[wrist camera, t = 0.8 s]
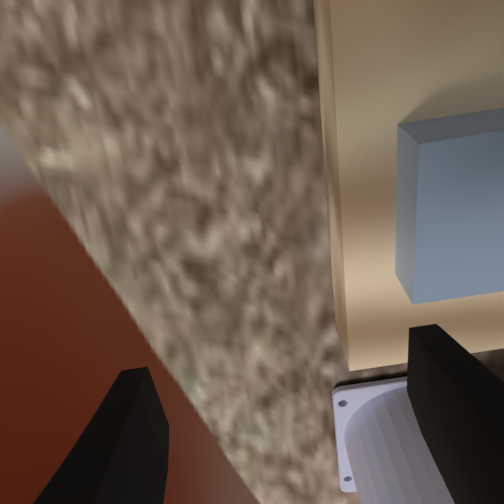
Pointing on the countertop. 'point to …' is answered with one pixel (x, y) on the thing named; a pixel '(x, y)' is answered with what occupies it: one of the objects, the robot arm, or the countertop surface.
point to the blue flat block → (450, 206)
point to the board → (385, 155)
